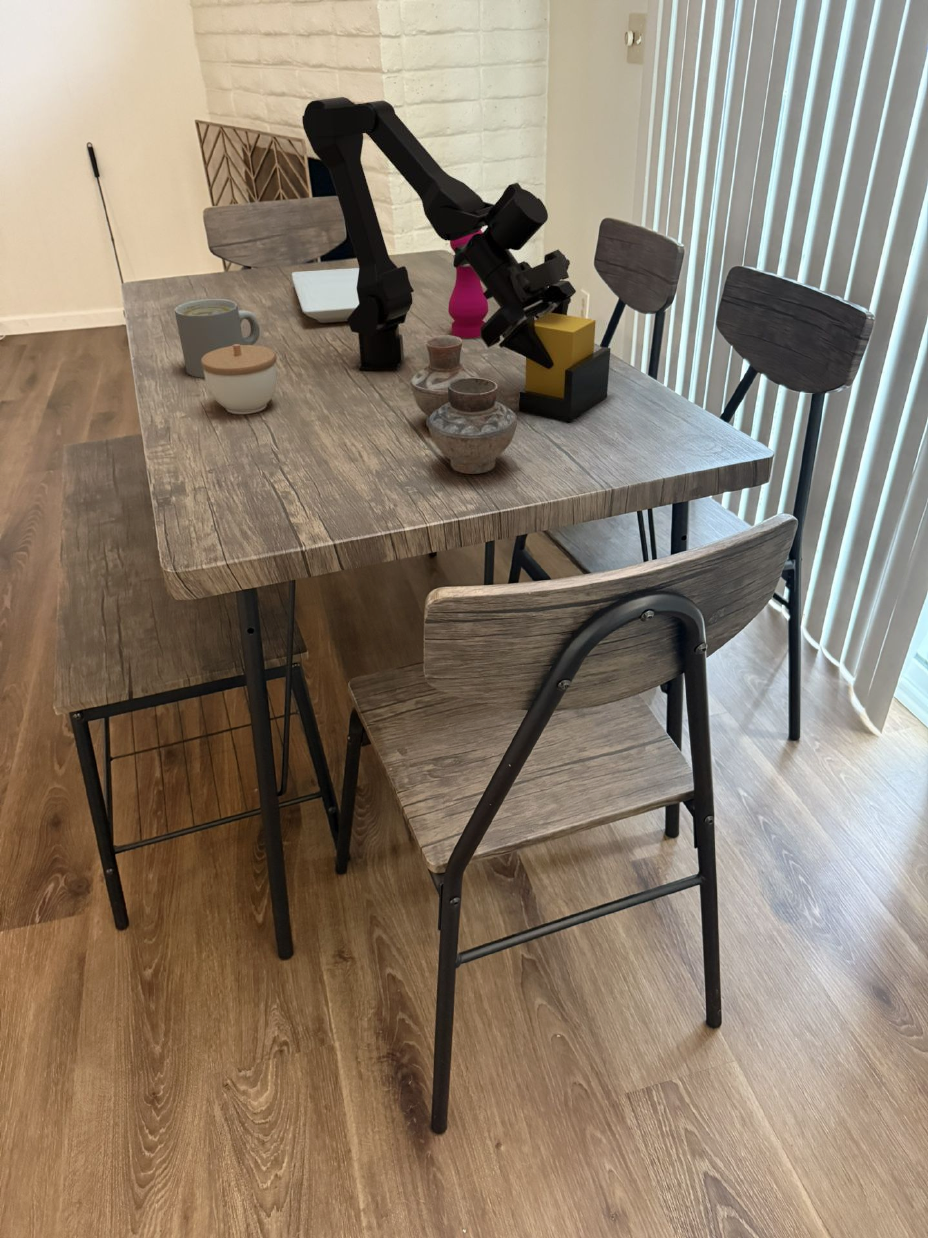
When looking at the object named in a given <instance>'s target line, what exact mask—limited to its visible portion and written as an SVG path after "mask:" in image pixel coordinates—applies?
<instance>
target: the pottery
mask: <svg viewBox="0 0 928 1238" xmlns="http://www.w3.org/2000/svg"><path fill="white" fill-rule="evenodd" d="M425 346H426V350H427V353H428V359H429V365H427V366H425V367H424V368H423V369H421V370H420V371H418V372H417V373H416V374H415V375H413V377H412V378H411V379H410V381H409V386H410V389H411V392H412V395H413V398H414V400H415V402H416V403H415V404H416V405H417V406H418V408H419V410H421V412H422V413H423V414H424V415H425V416H427V418H426V422H425V425H426V427H427V428H428V430H429V434H430V436H431V438H432V441H433V442H434V444H435V445H436V447H437V448H438V449H439V451H440V452H441V453H442V454H443V455H444V456H445V457H446V458H448V459H449V460H450V467H451V468H452V469H453V470H454V471H456V472H458V473H462V474H469V475H471V474H472V475H475V474H476V475H477V474H485V473H487V472H490V471H492V470H493V469H494V468H495V466H496V458H498V457H500V456H501V455H502V454H503V453H504V452H505V451H506V449H507V448H508V447H509V446H510V444H511V442H512V441H513V438H514V436H515V433H516V429H517V424H518V417H517V415H516V413H515V411H513V410H512V409H510V408H509V407H507V406H506V405H504V404H502V403H500V402H498V401H496V400H497V397H498V387H499V386H498V384H497V383H496V381H493V380H491V379H488V378H483V377H480V375H478V373H476V372H475V371H474V370H472V369H471V368H469V367H468V366H466V365H464V364H462V363H461V352H462V348H463V338H460V337H456V336H454V335H448V334H445V335H435V336H431V337H429V338H427V339H426V340H425Z"/></svg>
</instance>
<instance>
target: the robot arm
mask: <svg viewBox="0 0 928 1238" xmlns="http://www.w3.org/2000/svg"><path fill="white" fill-rule="evenodd" d="M301 118H302V119H301V120H302V127H303V130H304V133H305V136H306V137H307V140H308V142H309V145H310V147H311V149H312V151H313V153H314V154H315V155H316V156H317V157H318V159H319V160H320V161H321V162H322V163H323V164H324V165H325V167H326V168H327V169H328V171H329V173H330V177H331V180H332V184H333V186H334V189H335V194H336V196H337V199H338V203H339V205H340V209H341V213H342V215H343V219H344V222H345V225H346V228H347V232H348V235H349V238H350V241H351V245H352V247H353V252H354V254H355V258H356V261H357V264H358V268H359V274H358V281H357V294H358V300H359V305H358V306H357V307H356V309H355V310H354V311H353V312H352V314H351V315H350V316H349V317H348V319H347V320H348V321H347V323H348V326H349V329H350V331H351V333H356V334H358V346H359V359H360V363H359V364H358V367H357V368H358V370H360V371H397V370H399V367H400V365H401V364H402V363H403V361H404V359H405V355H404V352H405V351H404V338H403V337H404V335H403V334H402V333H400V329H399V327H400V326H399V325H401V324H405V322H406V318H407V314H408V312H409V311H410V309H411V307H412V305H413V294H412V293H414V292H415V289H414V288H413V286H412V285H411V282H410V279H409V272H408V269H407V267H406V266H405V265H402V266H400V267H398V266H397V265H396V264H395V263H394V262H393V261H392V260H391V258H390V255H389V253H388V249H387V245H386V242H385V239H384V236H383V231H382V229H381V226H380V222H379V218H378V215H377V212H376V208H375V205H374V201H373V198H372V194H371V191H370V188H369V184H368V181H367V178H366V174H365V171H364V168H363V164H362V159H361V158H362V151H363V145H364V134H365V135H367V136H368V137H369V138H370V140H371V141H372V142H373V143H374V144H375V145H376V147H377V148H378V149H379V150H380V151H381V152H382V153H383V155H384V156H385V157H386V159H388V161H389V162H390V163H391V164H392V166H393V167H394V168H395V169H396V170H397V172H399V174H400V175H401V176H402V177H403V178H404V179H405V181H406V182H407V183H408V184H409V186H410V187H411V188H412V190H414V192H415V193H416V194H417V196H418V197H419V200H421V204H422V209H423V213H424V215H425V218H426V219H427V221H428V222H429V224H430V225H431V227H432V229H433V230H434V232H435V233H436V234H437V236H438V237H439V238H441V240H443V241H447V242H448V241H449V242H450V241H454V240H457V239H460V238H463V237H466V236H469V235H472V234H475V233H477V232H479V231H480V230H481V231H482V229H483V228H484V227H486V228H485V230H483V231H482V232H483V233H482V234H481V233H477V234H475V235H473V236H472V237H471V239H470V240H469V241H468V242H467V243H466V244H465V245H461V246H458V247H455V252H454V255H455V257H454V258H453V262H454V263H452V264H453V268H455V269H456V268H457V267H460V266H463V265H465V264H469V265H470V266H471V268H472V269H473V271H474V272H475V273H476V275H477V276H478V277H479V279H480V282H481V284H482V285H483V286H484V287H485V288H486V290H485V291H484V293H483V295H484V296H485V297H486V299H487V300H489V299H492V298H493V300H494V301H495V302H496V304H497V305H498V306H499V308H498V309H497V310H496V311H494V313H493V314H492V315H491V316H490V317H489V318H488V319H487V320H486V322H485V324H484V325H483V326H482V327H481V328H480V339H481V340H482V341H483V343H484V344H485V345H486V347H487V348H490V347H493V346H494V345H496V344H498V343H499V342H500V341H501V337H502V338H503V340H502V341H501V342H500V343H499V344H498V347H500V348H505V349H508V350H510V351H512V352H514V353H516V354H519V355H521V356H522V357H524V358H526V357H527V358H528V359H530V360H532V361H534V362H536V363H538V364H540V365H541V366H543V367H545V368H547V369H550V368H551V367H552V366H554V363H553V361H552V359H551V357H550V355H549V353H548V352H547V350H546V348H545V347H544V345H543V344H542V342H541V340H540V339H539V337H538V335H537V334H536V332H535V320H536V319H538V318H540V317H542V316H544V315H546V314H548V313H556V314H562V315H568V310H569V305H570V304H571V303H572V297H573V296H574V295H575V294H576V293H577V290H576V288H575V287H574V286H573V284H572V283H571V282H570V281H569V280H567V279H570V276H569V273H568V270H569V267H570V264H571V261H570V259H567V257H566V256H565V254H564V253H563V252H561V250H560V249H555V250H553V251H551V252H548V253H546V254H544V257H543V258H544V259H543V262H542V263H540V264H537V265H535V266H533V267H531V265H530V263H529V262H527V261H525V260H523V261H520V262H518V260H517V258H516V257H515V256H514V254H513V253H512V252H511V251H510V250H512V251H520V250H521V249H522V248H523V247H524V246H525V245H526V244H527V243H528V242H529V241H530V240H531V239H532V237H533V236H534V235H535V234H536V233H537V232H538V231H539V230H540V229H541V228H542V227H543V226H544V224H546V222H547V221H548V219H549V214H548V211H547V210H548V209H547V207H546V205H545V204H544V202H543V201H542V200H541V199H540V198H539V197H537V196H536V195H535V194H533V193H532V192H531V191H529V190H527V189H524V188H523V187H522V186H521V185H520V183H519V182H514V183H511V184H509V185H508V186H507V187H506V188H504V191H503V192H502V195H501V196H500V198H498V199H497V201H496V202H495V203H490V202H487V201H485V200H483V198H482V197H481V196H480V195H479V194H478V193H476V192H475V190H473V189H472V188H471V187H469V186H468V185H467V184H466V183H465V182H463V181H461V180H459V179H457V178H455V177H454V176H451V175H449V173H447V172H446V171H445V170H444V169H443V168H442V167H441V166H440V164H438V162H437V161H436V160H435V159H434V157H433V156H432V155H431V154H430V153H429V151H427V149H426V148H425V146H423V144H422V143H421V142H420V141H419V140H418V139H417V137H416V136H415V135H414V134H413V132H411V130H410V129H409V128H408V126H407V125H406V124H405V123H404V122H403V121H402V120H401V118H400V117H399V116H398V115H397V114H396V110H395V108H394V106H393V105H392V104H391V103H389V102H388V101H386V100H374V101H368V102H362V103H355V102H354V101H351V100H350V99H349V98H348V97H345V96H339V97H331V98H324V99H316V100H312V101H310V102H308V104H307V105H306V107H305V109H304V113H303V115H302V117H301Z"/></svg>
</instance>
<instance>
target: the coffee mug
mask: <svg viewBox="0 0 928 1238" xmlns="http://www.w3.org/2000/svg"><path fill="white" fill-rule="evenodd" d="M174 315H175V320H176V325H177V331H178V335H179V339H180V345H181V350H182V355H183V360H184V365H185V371H186V373H187V374H188V375H190V376H192V377H195V378H201V379H205V375H204V370H203V368H202V364H201V359H202V357H203V356H204V355H205V354H207V353H209V352H211V351H214V350H216V349H220V348H224V347H229V346H233V345H234V344H240V345H255V344H256V343H257V342H258V340H259V338H260V323H259V320H258V318H257V316H256V314H254V313H253V312H252V311H250V310H247V309H243V310H239V306H238V304H237V302H236V301H233V300H230V299H225V298H224V299H223V298H204V299H196V300H191V301H186V302H184V303H181V304H179V305H176V307H175V308H174ZM243 320H247V321H248V323H249V327H250V333H249V335H248V336H247V337H244V335H243V332H242V322H243Z"/></svg>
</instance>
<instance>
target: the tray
mask: <svg viewBox="0 0 928 1238" xmlns="http://www.w3.org/2000/svg"><path fill="white" fill-rule="evenodd" d="M358 274H359V267H356V268H353V267H351V268H338V269H337V268H336V269H321V270H305V271H294V272H292V273H291V279H292V283H293V286H294V289H295V293H296V295H297V298H298V299H297V300H298V301H299V305H300V308H301V312H302V313H304V314H305V315H306V316H308V317H310V318H312V319H314V320H317V322H318V323H321V324H328V323H329V324H330V323H340V322H342V323H343V322H348V320H347V319H348V317H349V316H350V315H351V314H352V312H353V311H354V310H355V309H356V307H357V306H358V305H359V300H358V294H357V281H358Z"/></svg>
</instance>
